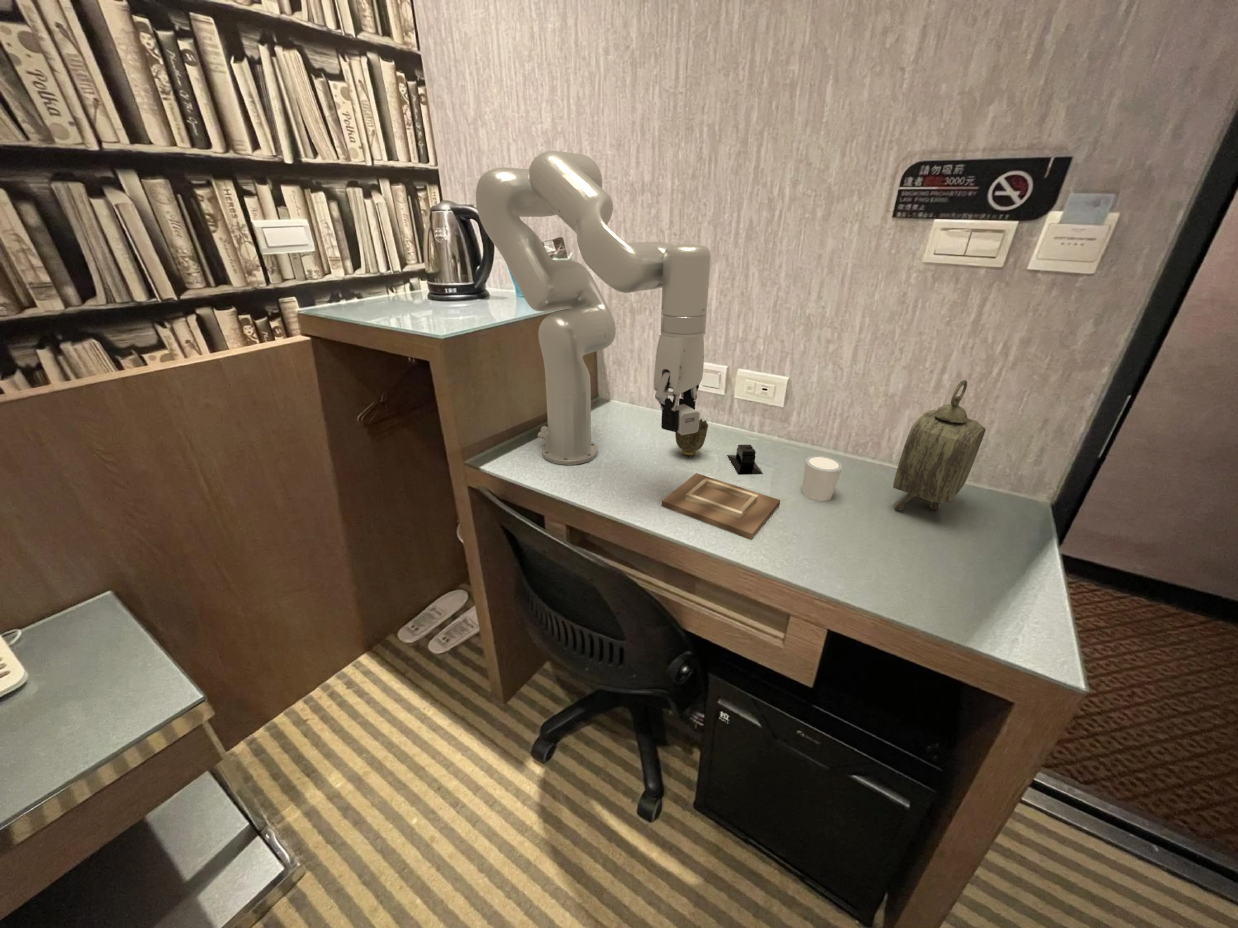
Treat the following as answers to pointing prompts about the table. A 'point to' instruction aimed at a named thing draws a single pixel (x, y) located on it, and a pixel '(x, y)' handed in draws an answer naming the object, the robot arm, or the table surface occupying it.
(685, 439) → the cup
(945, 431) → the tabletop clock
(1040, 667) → the table surface
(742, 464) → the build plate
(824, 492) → the beige short cylinder
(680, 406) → the usb wall charger
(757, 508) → the jig board
